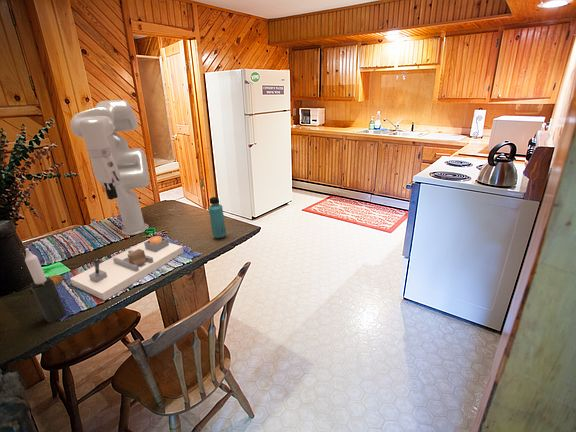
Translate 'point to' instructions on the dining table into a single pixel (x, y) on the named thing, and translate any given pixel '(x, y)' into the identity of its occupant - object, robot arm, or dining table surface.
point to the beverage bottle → (217, 218)
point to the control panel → (125, 269)
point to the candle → (44, 290)
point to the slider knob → (137, 257)
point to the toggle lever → (97, 265)
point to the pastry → (56, 279)
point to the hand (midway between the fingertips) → (113, 198)
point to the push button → (155, 240)
